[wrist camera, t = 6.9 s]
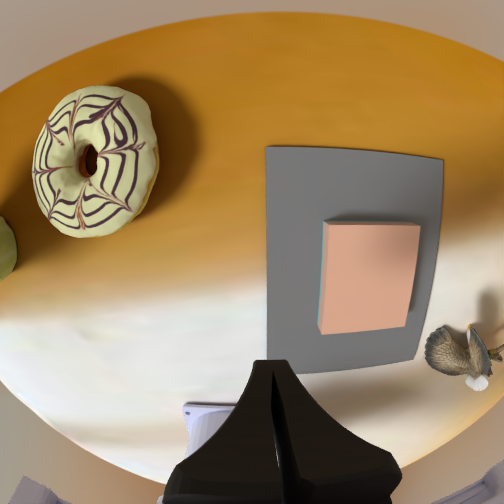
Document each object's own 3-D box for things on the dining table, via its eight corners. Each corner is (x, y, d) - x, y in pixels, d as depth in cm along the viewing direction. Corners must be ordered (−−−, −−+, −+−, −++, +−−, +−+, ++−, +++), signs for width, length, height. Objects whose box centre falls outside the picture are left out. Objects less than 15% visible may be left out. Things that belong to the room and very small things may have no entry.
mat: (411, 357, 23) (413, 359, 23) (266, 372, 24) (266, 375, 23) (440, 160, 19) (443, 160, 18) (265, 147, 19) (265, 146, 18)
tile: (317, 323, 22) (396, 317, 22) (321, 334, 20) (404, 326, 20) (323, 220, 20) (409, 221, 20) (329, 224, 18) (420, 225, 18)
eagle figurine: (504, 310, 21) (470, 301, 19) (522, 370, 17) (492, 379, 14) (456, 342, 27) (412, 340, 25) (468, 397, 22) (424, 408, 20)
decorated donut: (165, 80, 17) (149, 64, 14) (173, 225, 20) (157, 237, 17) (52, 110, 18) (24, 104, 14) (59, 235, 20) (33, 246, 17)
